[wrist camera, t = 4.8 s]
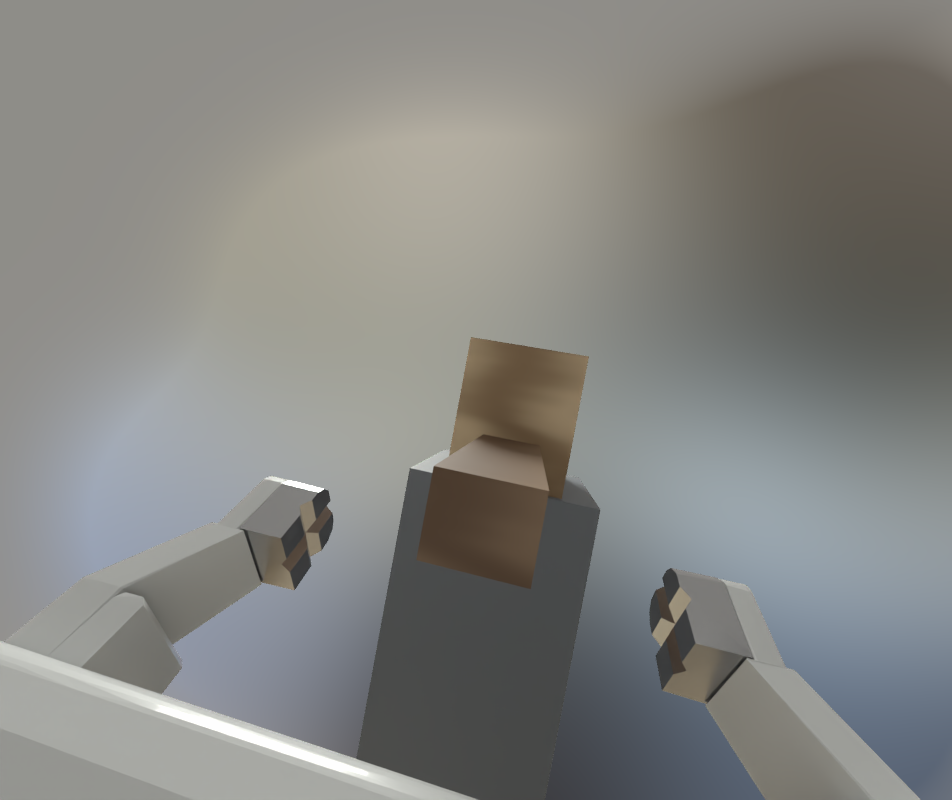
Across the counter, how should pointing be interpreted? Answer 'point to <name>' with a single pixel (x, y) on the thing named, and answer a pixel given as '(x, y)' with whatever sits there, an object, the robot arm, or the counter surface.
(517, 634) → the stand
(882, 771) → the robot arm
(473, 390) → the mallet
